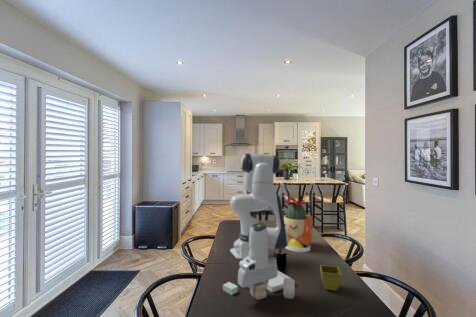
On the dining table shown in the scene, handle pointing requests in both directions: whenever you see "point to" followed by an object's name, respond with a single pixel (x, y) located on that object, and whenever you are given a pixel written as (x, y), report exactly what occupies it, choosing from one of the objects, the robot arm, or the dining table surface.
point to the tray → (276, 282)
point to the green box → (230, 288)
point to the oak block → (259, 290)
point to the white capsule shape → (289, 288)
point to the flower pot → (330, 277)
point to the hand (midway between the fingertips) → (258, 291)
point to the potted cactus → (298, 226)
